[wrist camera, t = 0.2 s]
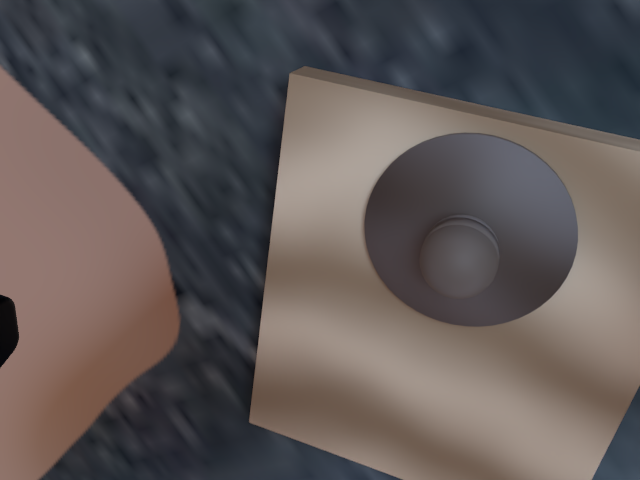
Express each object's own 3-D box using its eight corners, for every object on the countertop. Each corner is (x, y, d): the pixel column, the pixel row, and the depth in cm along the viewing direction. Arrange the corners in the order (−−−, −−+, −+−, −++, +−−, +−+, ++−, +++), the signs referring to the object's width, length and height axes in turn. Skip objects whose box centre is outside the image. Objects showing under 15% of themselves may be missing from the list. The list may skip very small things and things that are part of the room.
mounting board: (560, 509, 26) (563, 614, 22) (262, 401, 29) (215, 475, 25) (732, 160, 18) (786, 219, 14) (304, 66, 21) (247, 92, 17)
